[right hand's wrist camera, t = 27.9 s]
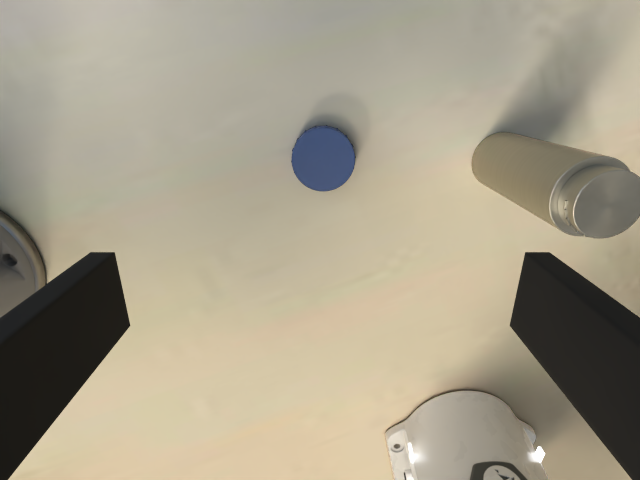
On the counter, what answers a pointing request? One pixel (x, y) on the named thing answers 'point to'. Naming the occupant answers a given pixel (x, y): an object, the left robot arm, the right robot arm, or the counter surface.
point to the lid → (323, 158)
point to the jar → (560, 184)
